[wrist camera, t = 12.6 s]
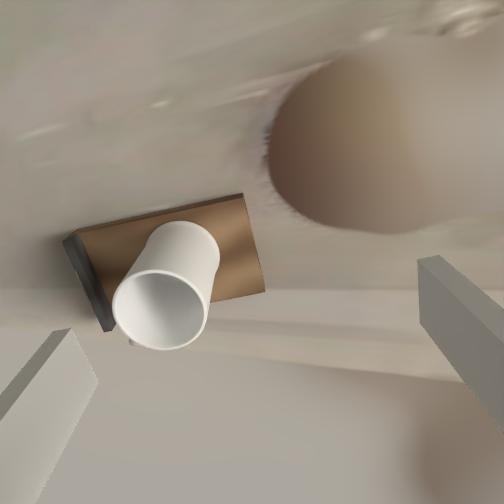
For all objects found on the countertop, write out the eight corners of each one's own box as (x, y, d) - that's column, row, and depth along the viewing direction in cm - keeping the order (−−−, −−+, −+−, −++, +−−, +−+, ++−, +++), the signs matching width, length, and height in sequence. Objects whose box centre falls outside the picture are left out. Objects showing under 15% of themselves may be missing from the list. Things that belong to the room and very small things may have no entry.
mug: (174, 317, 45) (150, 389, 34) (115, 277, 43) (69, 340, 32) (234, 251, 42) (230, 307, 31) (174, 204, 39) (146, 247, 28)
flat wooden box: (75, 229, 42) (59, 242, 39) (242, 192, 41) (242, 202, 37) (113, 314, 47) (101, 332, 43) (264, 284, 46) (265, 300, 42)
